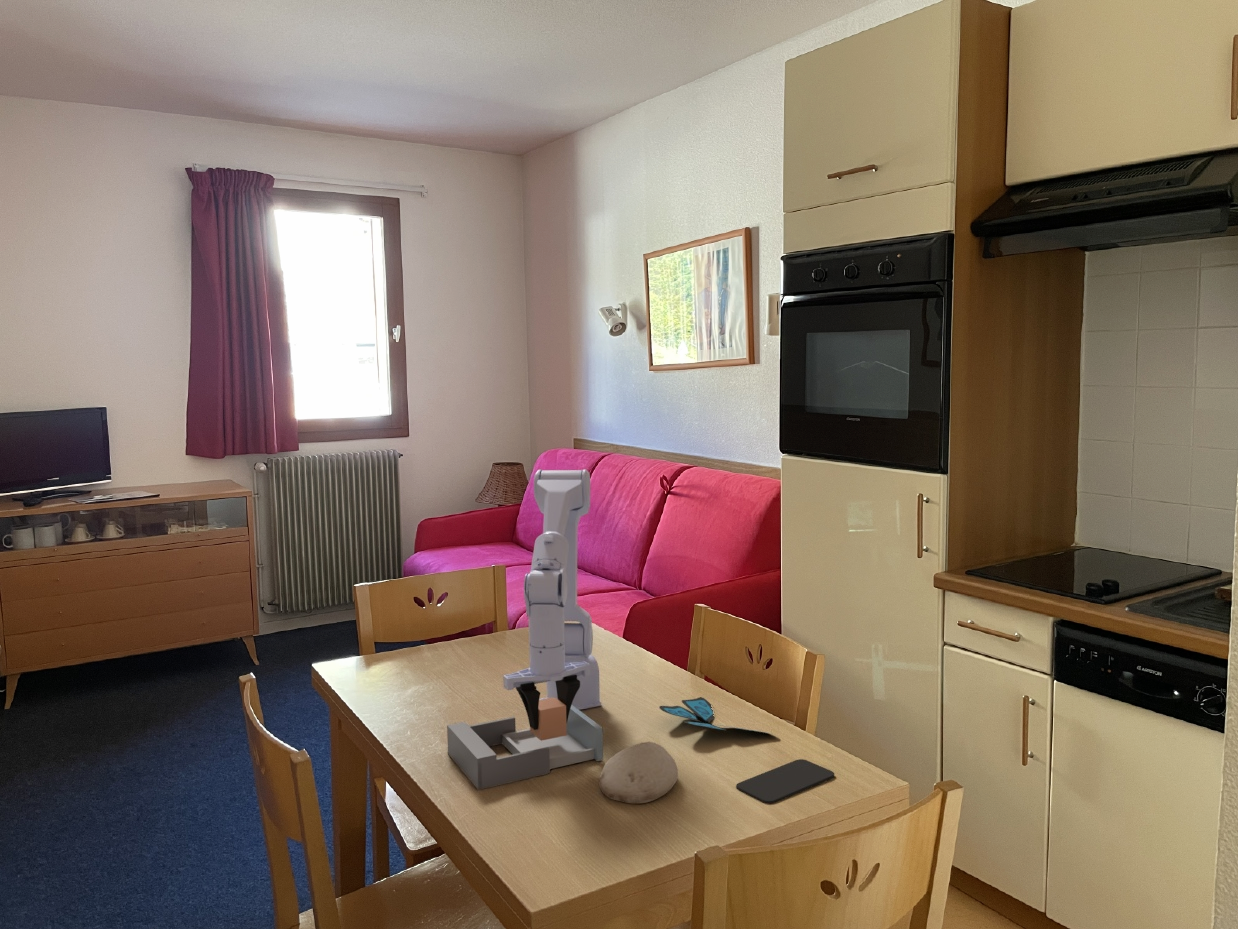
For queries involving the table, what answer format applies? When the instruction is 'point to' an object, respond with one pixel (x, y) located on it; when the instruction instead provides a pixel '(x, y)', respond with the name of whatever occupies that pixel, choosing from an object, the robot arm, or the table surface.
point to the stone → (639, 774)
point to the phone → (785, 781)
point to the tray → (563, 741)
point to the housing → (492, 754)
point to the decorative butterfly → (699, 708)
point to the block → (550, 719)
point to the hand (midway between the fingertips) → (548, 724)
